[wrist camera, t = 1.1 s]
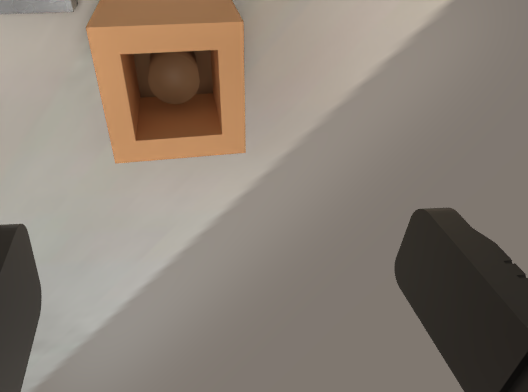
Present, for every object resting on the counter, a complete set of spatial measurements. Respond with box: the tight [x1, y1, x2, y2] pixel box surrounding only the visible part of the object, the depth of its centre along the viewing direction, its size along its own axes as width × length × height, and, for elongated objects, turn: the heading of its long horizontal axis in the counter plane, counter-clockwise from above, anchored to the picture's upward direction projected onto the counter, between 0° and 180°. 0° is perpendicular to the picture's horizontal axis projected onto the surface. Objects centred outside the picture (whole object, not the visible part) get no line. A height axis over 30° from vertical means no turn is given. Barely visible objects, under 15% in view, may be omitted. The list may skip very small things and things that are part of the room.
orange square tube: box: [86, 0, 246, 163], centre depth 21 cm, size 6×6×5 cm
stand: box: [133, 50, 213, 104], centre depth 24 cm, size 6×6×7 cm
